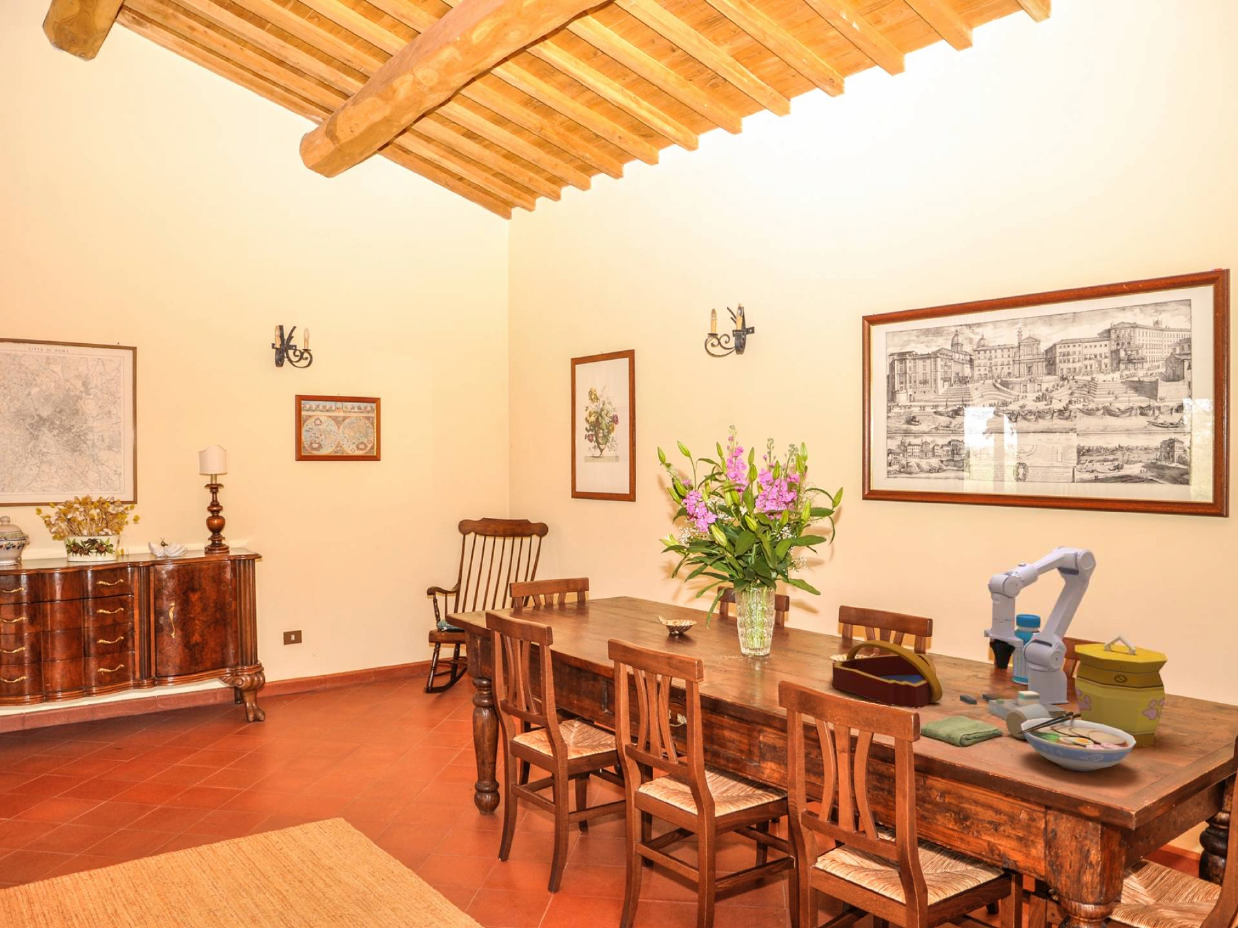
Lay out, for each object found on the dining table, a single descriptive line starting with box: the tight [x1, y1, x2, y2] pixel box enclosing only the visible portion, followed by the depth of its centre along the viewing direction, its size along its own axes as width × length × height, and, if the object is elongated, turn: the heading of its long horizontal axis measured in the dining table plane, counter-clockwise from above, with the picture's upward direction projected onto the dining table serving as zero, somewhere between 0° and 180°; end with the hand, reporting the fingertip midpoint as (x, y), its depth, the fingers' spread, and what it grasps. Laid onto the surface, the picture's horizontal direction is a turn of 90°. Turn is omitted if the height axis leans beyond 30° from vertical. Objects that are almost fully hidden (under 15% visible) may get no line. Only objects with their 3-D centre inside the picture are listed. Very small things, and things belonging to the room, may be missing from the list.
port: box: [988, 698, 1067, 721], centre depth 241 cm, size 14×12×4 cm
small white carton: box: [1017, 690, 1040, 707], centre depth 241 cm, size 4×3×6 cm
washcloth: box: [920, 715, 1004, 747], centre depth 225 cm, size 13×18×3 cm
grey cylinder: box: [1005, 704, 1051, 740], centre depth 223 cm, size 11×8×8 cm
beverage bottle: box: [1011, 613, 1041, 686], centre depth 278 cm, size 8×8×20 cm
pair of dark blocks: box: [959, 693, 1000, 705], centre depth 256 cm, size 9×5×1 cm, turn 102°
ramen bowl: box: [1017, 711, 1136, 772], centre depth 204 cm, size 25×23×8 cm
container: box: [1074, 633, 1168, 748], centre depth 226 cm, size 21×21×25 cm
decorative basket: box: [832, 639, 943, 709], centre depth 265 cm, size 34×29×15 cm
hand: (1002, 668), depth 253 cm, fingers closed
